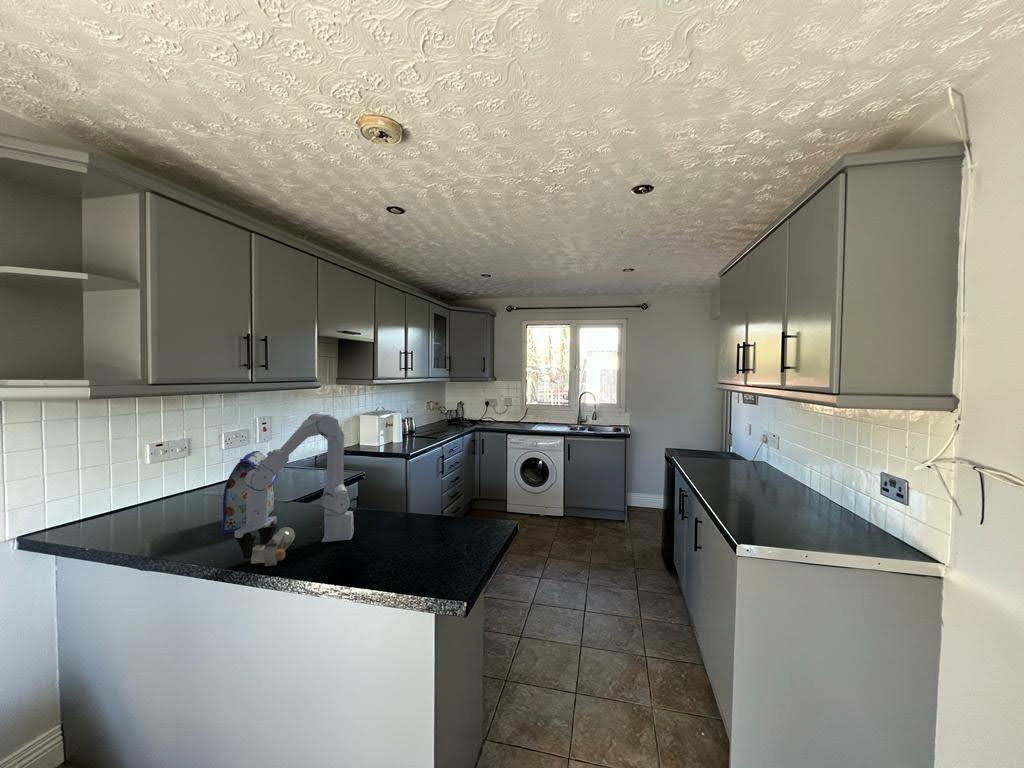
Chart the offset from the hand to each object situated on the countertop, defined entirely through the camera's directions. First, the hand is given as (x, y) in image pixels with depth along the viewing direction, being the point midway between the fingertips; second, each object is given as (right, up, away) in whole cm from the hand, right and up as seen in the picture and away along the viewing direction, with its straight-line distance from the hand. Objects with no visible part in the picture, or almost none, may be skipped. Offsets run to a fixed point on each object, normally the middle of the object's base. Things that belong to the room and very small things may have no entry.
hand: (256, 553), depth 129 cm
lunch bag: (-24, -3, +37) cm, 44 cm away
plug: (+3, -2, +1) cm, 4 cm away
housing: (+4, -2, +5) cm, 7 cm away
